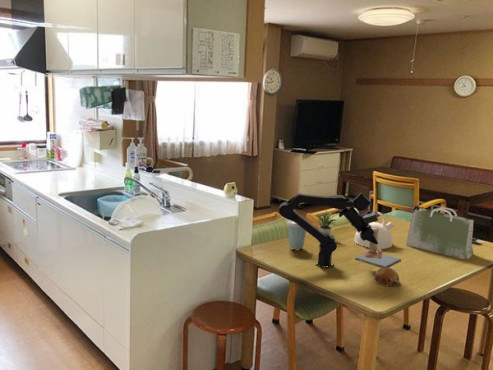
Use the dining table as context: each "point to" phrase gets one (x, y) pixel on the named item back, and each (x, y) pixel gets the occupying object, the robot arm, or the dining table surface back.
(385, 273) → the bread roll
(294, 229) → the disposable coffee cup
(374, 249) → the cylinder on pink base
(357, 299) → the dining table surface
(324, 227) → the house plant
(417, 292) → the dining table surface
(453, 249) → the grocery bag
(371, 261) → the mat
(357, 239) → the kettle
